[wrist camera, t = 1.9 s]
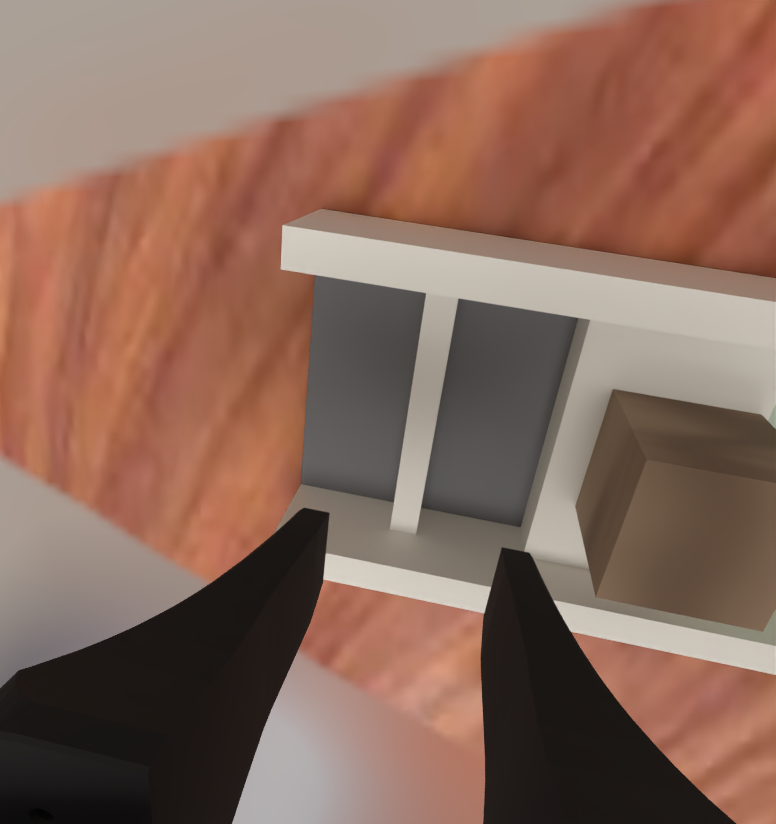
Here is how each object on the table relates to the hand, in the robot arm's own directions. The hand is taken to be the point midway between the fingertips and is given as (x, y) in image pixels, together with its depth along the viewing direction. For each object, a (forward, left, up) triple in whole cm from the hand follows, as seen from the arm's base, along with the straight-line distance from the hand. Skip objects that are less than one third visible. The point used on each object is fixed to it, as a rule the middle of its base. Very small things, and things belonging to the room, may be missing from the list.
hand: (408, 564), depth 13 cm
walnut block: (-8, 0, -7) cm, 11 cm away
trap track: (-6, 0, -9) cm, 11 cm away
